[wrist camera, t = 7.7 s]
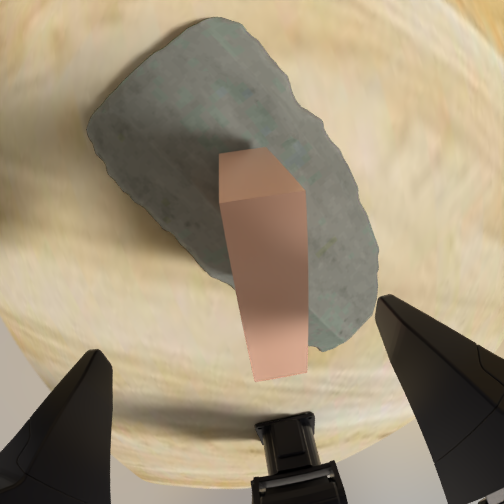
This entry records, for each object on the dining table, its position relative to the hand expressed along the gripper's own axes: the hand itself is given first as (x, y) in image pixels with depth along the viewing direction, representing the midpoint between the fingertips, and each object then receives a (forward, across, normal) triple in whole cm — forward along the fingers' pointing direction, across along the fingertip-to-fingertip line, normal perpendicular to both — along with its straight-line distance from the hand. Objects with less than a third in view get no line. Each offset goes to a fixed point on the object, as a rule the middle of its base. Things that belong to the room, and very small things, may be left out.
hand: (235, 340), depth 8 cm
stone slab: (+9, -3, +1) cm, 10 cm away
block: (+6, -1, 0) cm, 7 cm away
